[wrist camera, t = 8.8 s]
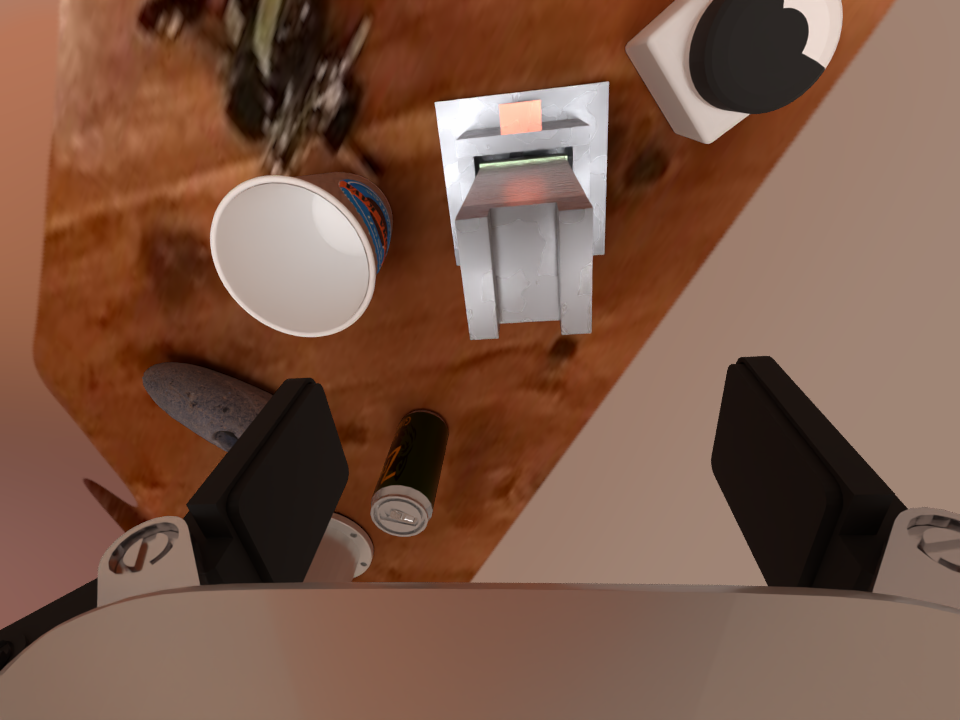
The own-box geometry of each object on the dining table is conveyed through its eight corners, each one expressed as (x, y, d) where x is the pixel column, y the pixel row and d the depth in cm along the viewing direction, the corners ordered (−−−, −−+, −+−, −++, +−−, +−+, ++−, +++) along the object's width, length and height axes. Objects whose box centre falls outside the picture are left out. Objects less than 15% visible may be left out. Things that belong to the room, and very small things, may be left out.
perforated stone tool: (162, 370, 49) (112, 410, 43) (173, 333, 47) (122, 370, 41) (296, 436, 53) (266, 481, 47) (313, 404, 50) (284, 448, 44)
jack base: (601, 248, 39) (618, 284, 32) (458, 259, 41) (445, 296, 34) (605, 81, 33) (627, 81, 26) (438, 101, 35) (417, 106, 28)
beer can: (456, 417, 49) (438, 506, 39) (440, 453, 52) (420, 545, 42) (407, 400, 49) (376, 486, 38) (393, 437, 51) (361, 527, 41)
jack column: (565, 233, 32) (593, 335, 19) (489, 239, 33) (468, 341, 20) (564, 150, 30) (595, 204, 17) (482, 159, 30) (451, 217, 17)
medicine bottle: (675, 135, 35) (740, 159, 24) (621, 47, 32) (668, 31, 22) (772, 60, 32) (890, 50, 22) (721, -43, 30) (828, -109, 19)
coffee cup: (430, 259, 41) (398, 319, 31) (323, 286, 43) (260, 351, 33) (386, 132, 36) (332, 153, 26) (269, 170, 38) (175, 203, 28)
